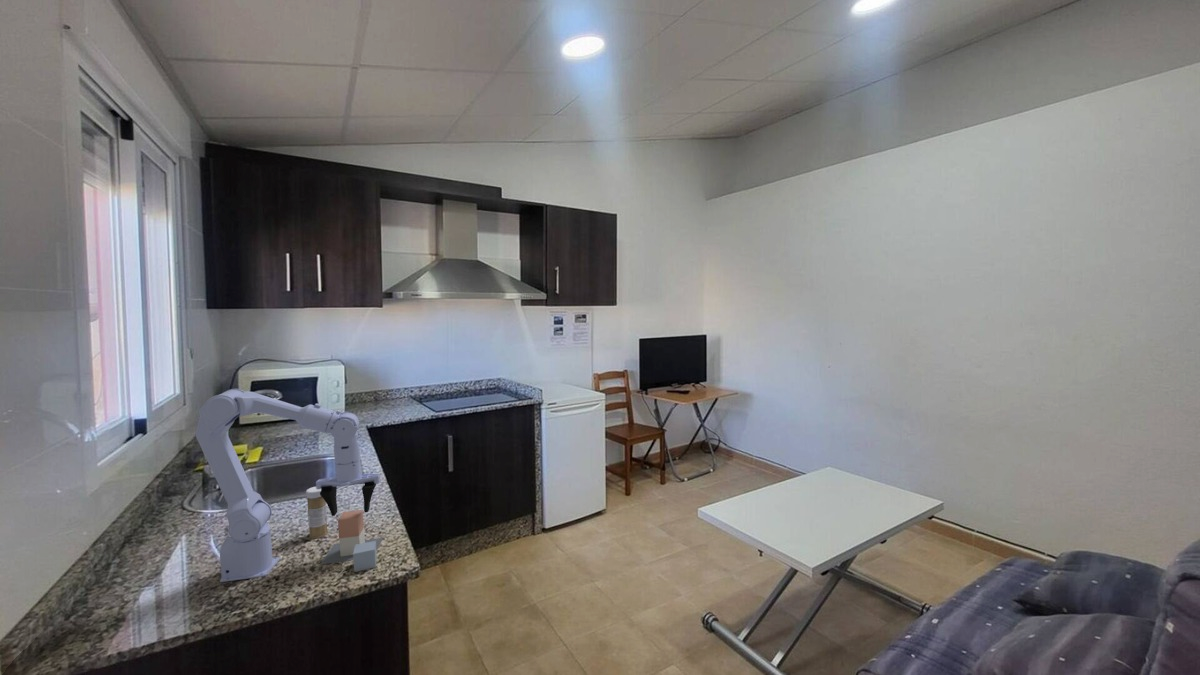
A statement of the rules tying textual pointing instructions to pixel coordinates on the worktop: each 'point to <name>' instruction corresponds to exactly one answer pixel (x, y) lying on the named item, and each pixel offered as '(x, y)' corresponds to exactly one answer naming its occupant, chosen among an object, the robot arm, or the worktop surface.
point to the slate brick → (365, 556)
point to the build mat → (335, 556)
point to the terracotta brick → (350, 524)
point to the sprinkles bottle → (316, 513)
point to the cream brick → (350, 543)
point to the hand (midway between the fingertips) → (350, 512)
